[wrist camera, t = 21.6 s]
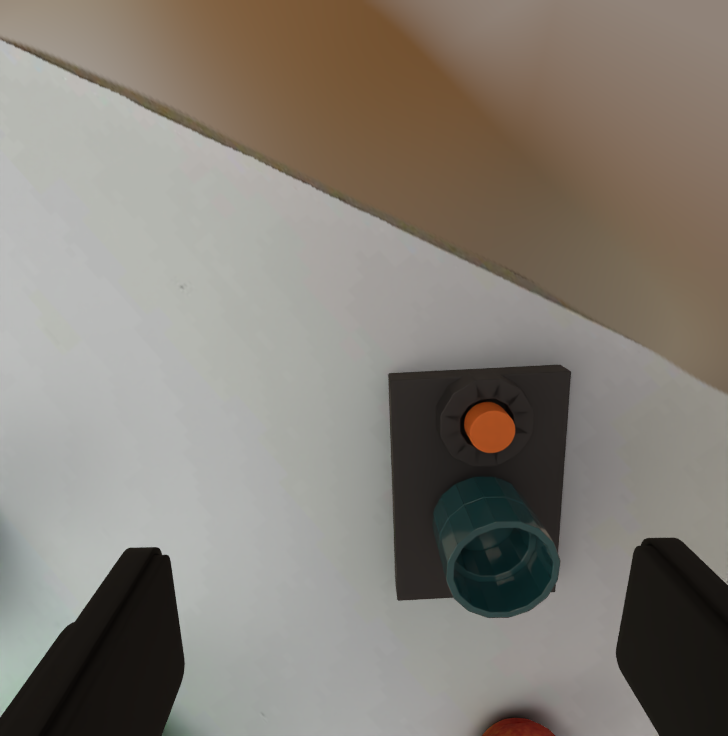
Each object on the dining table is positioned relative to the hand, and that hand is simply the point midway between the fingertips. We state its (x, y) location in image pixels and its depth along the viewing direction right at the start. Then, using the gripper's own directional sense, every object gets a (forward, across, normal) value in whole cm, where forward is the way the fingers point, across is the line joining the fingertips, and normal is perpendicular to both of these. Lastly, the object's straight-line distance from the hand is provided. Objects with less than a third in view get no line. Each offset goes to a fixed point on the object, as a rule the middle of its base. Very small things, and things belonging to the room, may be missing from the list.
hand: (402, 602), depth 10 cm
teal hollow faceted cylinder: (+20, -7, +11) cm, 24 cm away
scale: (+21, -7, +10) cm, 24 cm away
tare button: (+18, -7, +4) cm, 20 cm away
